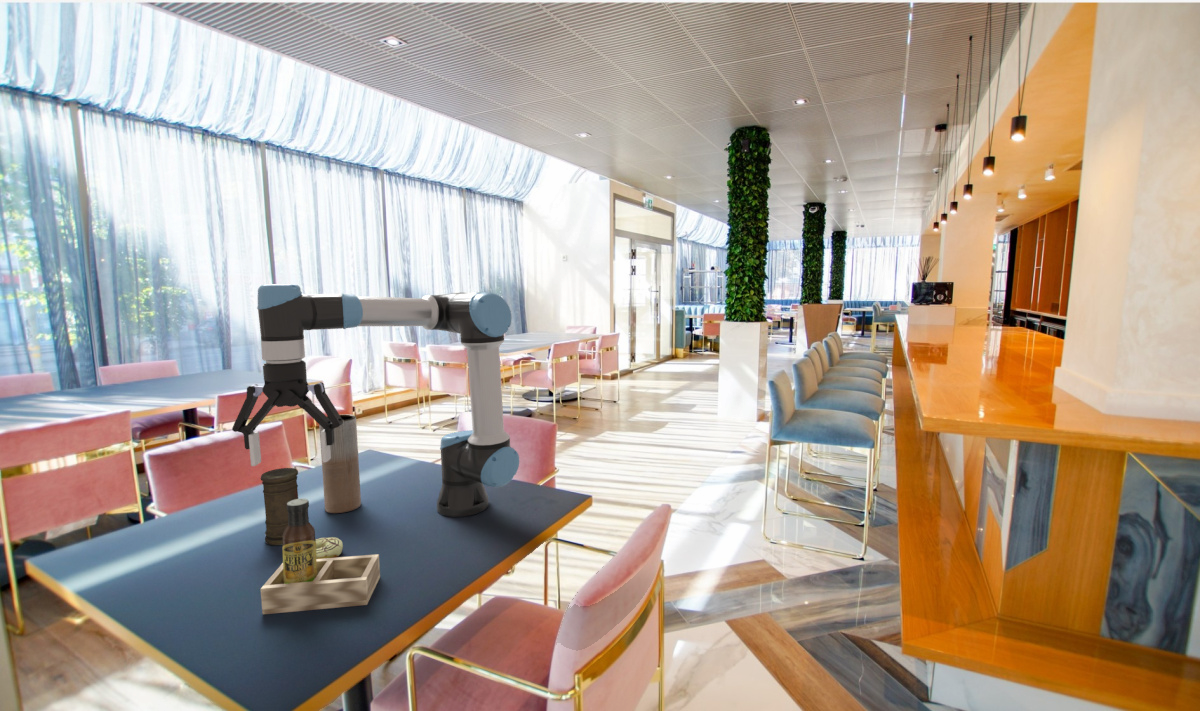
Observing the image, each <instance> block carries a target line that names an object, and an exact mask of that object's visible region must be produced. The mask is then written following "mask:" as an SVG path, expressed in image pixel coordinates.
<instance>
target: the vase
mask: <svg viewBox="0 0 1200 711" xmlns="http://www.w3.org/2000/svg"><path fill="white" fill-rule="evenodd" d="M339 415H340V417H341V418H342V420H343V424H342V425H340V426H339V427H336V428H334V439H335V442H334V444H333V445H330V450H331V459H330V460H329V461H327V462H323V459H322V444H321V431H323V430H324V428H323V427H322V426H320V425H319V424H318V426H319V440H320V454H321V457H320V458H321V468H322V469H321V471H322V485H323V498H324V500H323V501H324V510H325V512H327V513H328V514H344V513H349V512H353V511H355V510H356V509H359V507H361V505H362V496H361V493H362V492H361V479H360V478H361V477H360V462H359V459H360V458H359V446H358V428H357V416H356V415H355V414H347V413H346V414H344V413H343V414H341V413H339ZM326 416H327V415H326ZM327 417H328V416H327ZM328 418H329V417H328Z"/></svg>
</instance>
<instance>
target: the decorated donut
mask: <svg viewBox="0 0 1200 711" xmlns="http://www.w3.org/2000/svg"><path fill="white" fill-rule="evenodd" d="M315 539H316V559H324V558H337V557H340V555H341V554H342V551H343V548H344V545H343V541H342V540H341V539H339V537H335V536H331V537H330V536H329V537H319V538H315Z"/></svg>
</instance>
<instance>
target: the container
mask: <svg viewBox="0 0 1200 711" xmlns="http://www.w3.org/2000/svg"><path fill="white" fill-rule="evenodd" d="M298 475H299V471H298V469H297V468H293V467H283V468H282V467H281V468H275V469H271V470H268V471H266V472H263V473H262V474H261V476H260V481H261V484H262V485H263V490H262V493H263V498H264V501H263V502H264V510H265V532H264V536H265V537H264V542H265V543H266V544H267V545H269V546H283V540H282V538H283V537H282V536H283V533H284V531H285V529H286V528H287V526H288V511H287V503H288V502H289V501H292V500H295V499H299V492H298V491H299V490H298V487H299V485H298V481H297V480H298Z"/></svg>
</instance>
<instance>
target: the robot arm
mask: <svg viewBox="0 0 1200 711" xmlns="http://www.w3.org/2000/svg"><path fill="white" fill-rule="evenodd" d="M301 290H302V289H301V287H300V285H298V284H286V283H285V284H284V283H283V284H282V283H281V284H277V283H276V284H275V283H274V284H271V283H270V284H269V283H268V284H262V285H260V286H259V287H258V288H257V307H256V309H257V311H258V313H257V314H258V321H259V330H260V343H261V344H260V346H261V360H262V361H265V362H264V363H263V364H262V371H263V372H262V373H263V374H262V375H263V382H264V384H263V385H258V384H256V383H255V384H252V385H249V386H247V387H246V397H245V399H244V402H243V403H242V407H241V408H240V410H239V412H238V415H237V416H236V419H235V421H234V424H233V426H232V428H231V430H232V431H233V432H235V433H236V432H238V433H241V434H242V435H243V442H244V448H245V450H249V456H250V466H251V467H256V466H258V465H259V464H261V462H262V454H261V441H260V431H256V430H257V429H256V428H258V426H259V425H260V424H261V423H262V421H263V420H264V419H265V418H266V416H267V415H268V414H269V413H270V412H271V410H272V409H273V408H274V407H275V406H276V407H277V408H283V407H296V406H298V407H299V408H301V409H303V410H304V411H305V412H306V413H307V414H308V415H309V416H310V417H311V419H313V420H314V421H315V422H316V423H317V424H318V426H319V425H320V426H322V427H323V428H324V430H323V431H321V443H320V445H321V444H322V458H321V460H322V459H323V462H327V461H329V460H330V459H331V450H330V445H333V444H334V442H335V439H334V428H336V427H339V426H340V425H342V424H343V420H342V418H341V417H340V413H339V412H338V410H337V409H336V407H335V405H334V404H333V403H332V401H331V399H330V397H329V395H328V394H327V393H326V388H325V384H324V382H321V381H320V382H318V383H314V384H313V383H312V384H309V383H308V380H307V376H308V375H307V363H306V361H305V360H303V359H305V357H306V349H305V336H304V334H305V333H304V331H313V330H337V329H339V330H340V329H343V330H346V329H353V328H357V327H422V328H423V329H425V330H426V331H429V330H430V331H442V332H443V331H444V332H449V333H454V334H460V335H459V336H460V344H461V345H462V346H463V347H464V348H466V350H467V351H466V352H467V365H468V366H467V368H468V381H469V394H470V395H469V396H470V410H471V424H472V425H471V426H472V430H462V431H456V432H450V433H448V434H445V435H444V436H442V437H441V438H440V448H439V450H440V460H441V461H440V463H441V478H442V479H441V488H440V490H439V495H438V498H437V500H436V511H437V512H438V514H440V515H442V516H445V517H452V518H460V517H461V518H462V517H468V516H469V517H470V516H473V515H477V514H479V513H481V512H483V511H485V510H486V509H487V508H488V507H489V495H488V493H487V490H486V488H485V486H486V487H492V488H502V487H504V486H507V485H508V484H509V483H510V482H511V481H512V480H513V479H514V477H515V475H517V472H518V470H519V467H520V455H519V453H518V451H517V450H516V449H515V448H514V447H511V436H510V434H509V433H508V432H507V431H505V429H504V428H505V426H504V412H503V410H504V409H503V396H502V395H503V394H502V390H503V389H502V379H501V378H502V377H501V376H502V375H501V361H500V360H501V358H500V346H501V345H502V344H503V343H504V342H505V334H506V333H507V332H508V331H509V328H510V327H511V325H512V319H513V318H512V311H511V308H510V306H509V304H508V302H507V301H506V300H505V299H504V298H503V297H502V296H501V295H500V294H497V293H494V292H487V291H479V292H478V291H476V292H462V291H461V292H453V293H446V294H437V295H436V294H427V295H424V296H422V298H418V297H416V298H415V297H392V296H390V297H389V296H367V295H363V296H361V295H360V296H359V295H355V294H352V293H351V294H350V293H314V294H310V293H309V294H307V293H302V291H301ZM309 392H311V393H312V395H314V396H315V398H316V400H317V401H318V403H319V405H320V406H321V407H322V409H323V411H324V412H325V414H324V412H323V411H321V409H319V408H318V407H317V405H315V404H314V403H313V401H312V399H311V398H310V397H309V396H307V394H308V393H309ZM262 394H264V395H265V396H266V398H267V399H266V400H265V402H264V403H263V404H262V406H261V407H260V408H259V410H258V411H257V412H256V413H255V415H253V417H252V418H251V420H250V421H248V420H249V419H250V416H251V414H252V413H253V410H254V408H255V405H256V403H257V401H258V399H259V397H260V396H261V395H262ZM327 416H328V417H329V418H328V417H327Z"/></svg>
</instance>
